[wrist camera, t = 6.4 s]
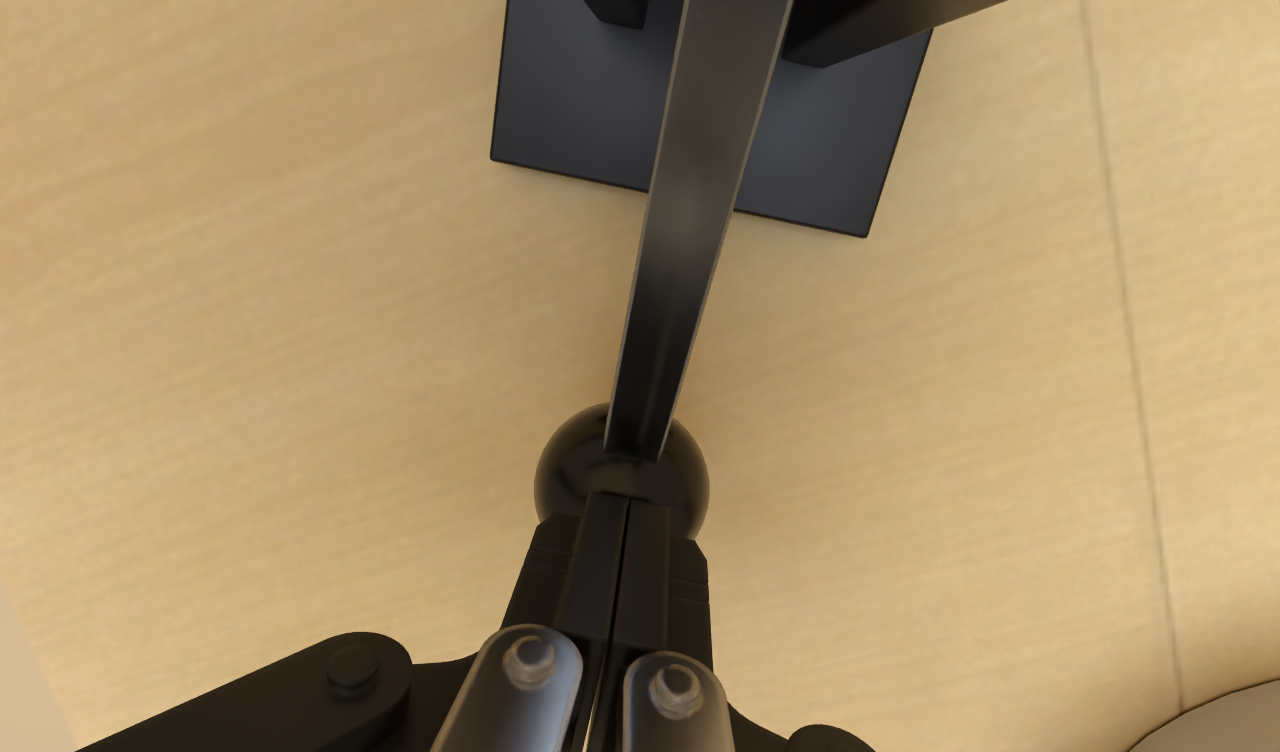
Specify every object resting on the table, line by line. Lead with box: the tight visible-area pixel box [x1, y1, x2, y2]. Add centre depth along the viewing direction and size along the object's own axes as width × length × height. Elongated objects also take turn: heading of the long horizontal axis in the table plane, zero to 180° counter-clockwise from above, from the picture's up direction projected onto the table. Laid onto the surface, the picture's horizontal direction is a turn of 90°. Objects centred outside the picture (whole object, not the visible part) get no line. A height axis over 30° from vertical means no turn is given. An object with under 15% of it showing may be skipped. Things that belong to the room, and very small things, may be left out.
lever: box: [534, 0, 794, 540], centre depth 10 cm, size 15×4×4 cm, turn 169°
